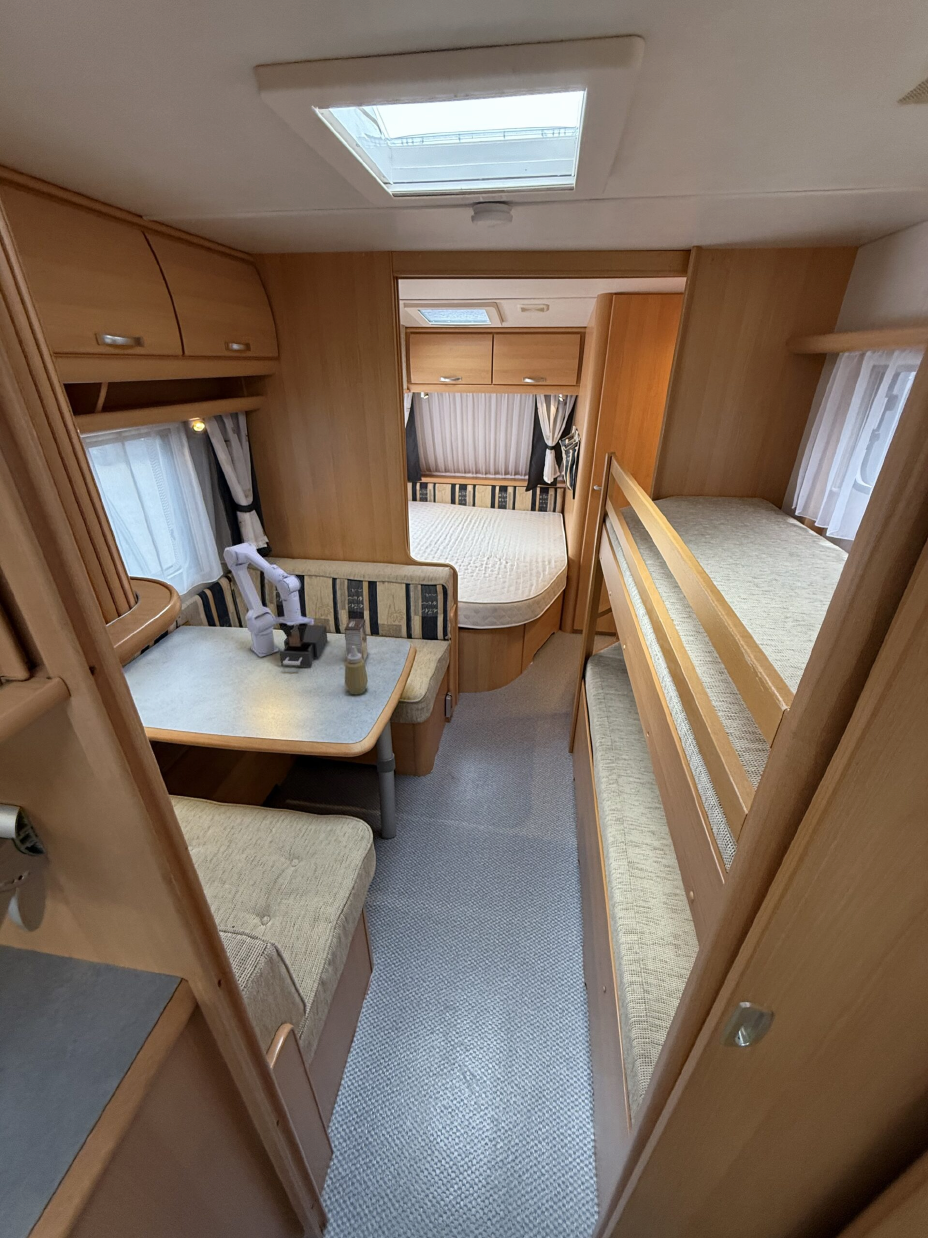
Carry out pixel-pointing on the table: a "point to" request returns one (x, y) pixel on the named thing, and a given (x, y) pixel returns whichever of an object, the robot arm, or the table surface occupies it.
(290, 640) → the block
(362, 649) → the coffee box
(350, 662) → the squeeze bottle
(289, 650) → the drawer
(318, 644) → the dark grey drawer box
